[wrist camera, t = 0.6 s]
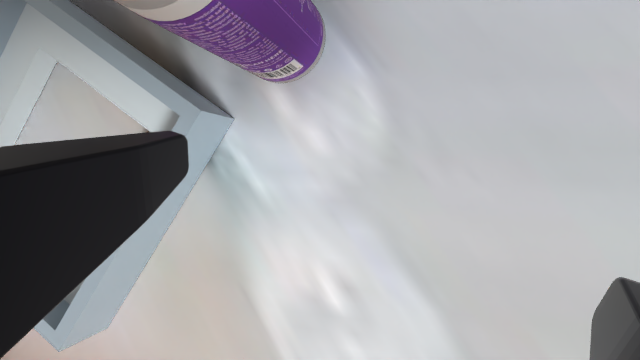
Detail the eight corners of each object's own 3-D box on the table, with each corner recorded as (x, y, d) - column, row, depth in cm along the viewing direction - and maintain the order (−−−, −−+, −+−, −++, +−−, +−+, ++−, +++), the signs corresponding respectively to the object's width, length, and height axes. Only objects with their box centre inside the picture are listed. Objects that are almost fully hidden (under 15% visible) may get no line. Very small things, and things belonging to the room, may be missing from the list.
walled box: (106, 328, 26) (58, 351, 23) (-50, 186, 29) (-113, 188, 26) (234, 118, 24) (200, 110, 21) (49, -14, 27) (-6, -40, 24)
